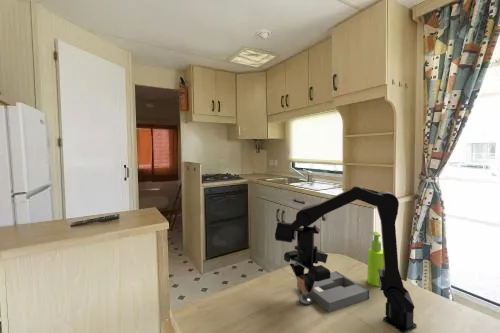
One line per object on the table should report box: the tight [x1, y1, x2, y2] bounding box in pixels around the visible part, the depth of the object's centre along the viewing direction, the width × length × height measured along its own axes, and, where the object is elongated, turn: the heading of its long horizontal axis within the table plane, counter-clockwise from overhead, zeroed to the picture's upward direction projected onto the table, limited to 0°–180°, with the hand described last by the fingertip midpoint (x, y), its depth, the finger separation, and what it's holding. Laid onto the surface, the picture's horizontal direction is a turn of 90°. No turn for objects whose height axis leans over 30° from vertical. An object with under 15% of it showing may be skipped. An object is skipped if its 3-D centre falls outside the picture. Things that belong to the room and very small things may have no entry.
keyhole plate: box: [308, 271, 370, 313], centre depth 90 cm, size 18×16×3 cm
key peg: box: [296, 275, 314, 306], centre depth 84 cm, size 4×4×8 cm
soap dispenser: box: [367, 231, 384, 288], centre depth 97 cm, size 6×7×20 cm
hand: (305, 288), depth 84 cm, fingers closed on key peg, 4 cm apart
